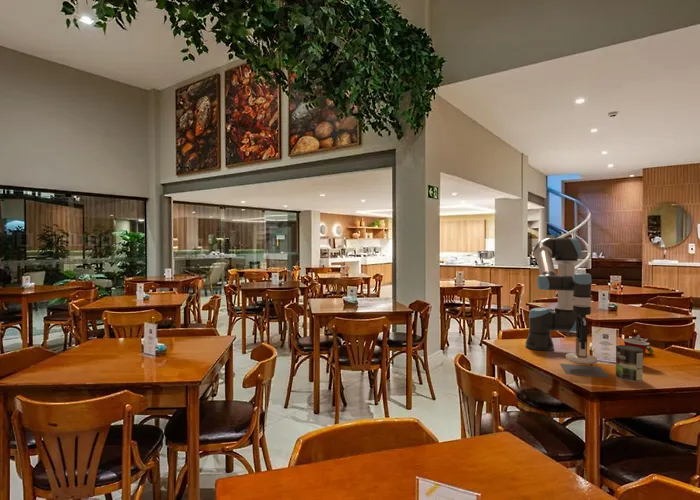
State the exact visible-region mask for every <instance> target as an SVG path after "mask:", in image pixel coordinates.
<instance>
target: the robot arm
mask: <svg viewBox="0 0 700 500" xmlns="http://www.w3.org/2000/svg"><path fill="white" fill-rule="evenodd" d="M533 256H534V258H535V259H536V261H537V266H538V271H539V275H538V276H537V278H536V279H537V280H536V285H537V289H539V290H543V291H548V290H549V291H557V305H556V306H554V310H552V308H551V307H534V308H531V309H530V310H529V314H528V336H527V338H526V340H525V347H526V348H527V349H531V350H536V351H548V352H549V351H554V349H555V348H554V347H555V346H554V342H553V338H552V336H551V333H552V332H567V333H573V332H574V333H575V338H580V341H578V342H579V356H586V342H587V343H588V326H589V321H588V318H587V316H590V315H591V314H592V307H591V306H592V283H593V282H592V275H591V274H590V273H587V272H585V273H584V272H576V271H575V270H576V269H575V266H576V265H575V264H577V262H578V259H580V258H581V257H582V248H581V243H580V241H579V239H578V238H575V237H547V238H544V239H541V240H540V241H538V243H536V245H535V246H534V248H533ZM553 259H554V261H555V262H556V263H557V274H556V269H555V266H554V261H553ZM551 331H552V332H551Z"/></svg>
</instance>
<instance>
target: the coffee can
mask: <svg viewBox="0 0 700 500" xmlns="http://www.w3.org/2000/svg"><path fill="white" fill-rule="evenodd" d="M643 362H644V359H643V349H642V348H639V347H635V346H628V345H625V344H619V345H616V346H615V377H616V378H617V379H620V380H623V381H628V382H643V381H644V380H643V374H644V373H643V370H644V369H643V368H644V367H643V366H644V364H643Z"/></svg>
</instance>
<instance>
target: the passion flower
mask: <svg viewBox="0 0 700 500" xmlns="http://www.w3.org/2000/svg"><path fill="white" fill-rule="evenodd" d="M627 339H632V340H638V341H643V342H646V343H648V344H649V345H648V346H647V348H646V350H647V352H648V353H649V354H650V355H653V353H654V350H653V349H652V347H651V345H650V342H647V341H648V339H649V338H641V336H640V335H639V334H637V335H636V336H632V337H631V336H630V337H628V338H627Z"/></svg>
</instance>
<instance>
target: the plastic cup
mask: <svg viewBox="0 0 700 500" xmlns="http://www.w3.org/2000/svg"><path fill="white" fill-rule="evenodd" d="M622 341H623V345H628V346H635V347H639V348H642V349H643V360H645V355H646V354H645V353H646V350H647V349H646V348H647V346H648V345H650V344H648V343H649V342H648V343H646V342H647V341H646V342H643V341H638V340H632V339H630V338H629V339H628V338H623V339H622Z"/></svg>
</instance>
